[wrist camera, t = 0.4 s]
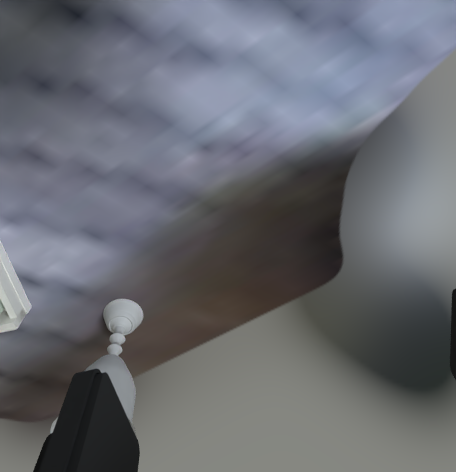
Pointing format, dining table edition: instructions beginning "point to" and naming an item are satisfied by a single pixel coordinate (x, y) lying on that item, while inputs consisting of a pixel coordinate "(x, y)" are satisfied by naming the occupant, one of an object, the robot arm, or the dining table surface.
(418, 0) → the dining table surface
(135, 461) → the robot arm
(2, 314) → the white joystick tray
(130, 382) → the chalice
